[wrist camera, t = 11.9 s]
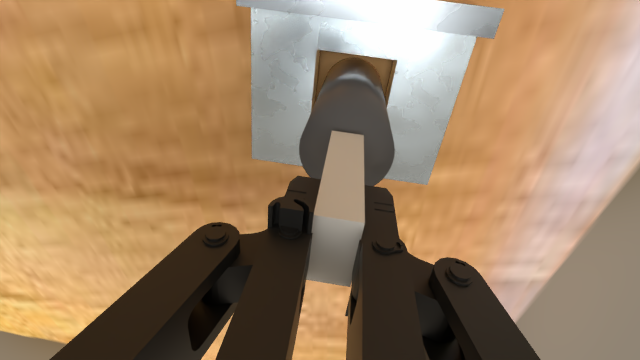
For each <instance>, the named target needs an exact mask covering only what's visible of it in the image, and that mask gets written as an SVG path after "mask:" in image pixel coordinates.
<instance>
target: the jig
mask: <svg viewBox="0 0 640 360" xmlns="http://www.w3.org/2000/svg"><path fill="white" fill-rule="evenodd" d="M236 6H243V7H251V97H252V159H258V160H265V161H272V162H278V163H285V164H292V165H298V166H303V165H302V163H301V160H300V155H299V144H300V139H301V136H302V133H303V131H304V128H305V126H306V124H307V121H308V119H309V117H310V114H311V112H312V110H313V107H314V105H315V97H316V87H317V77H318V67H319V57H320V50H325V51H332V52H340V53H347V54H355V55H362V56H370V57H377V58H385V59H392V60H393V64H392V69H391V73H390V78H389V82H388V87H387V92H386V96H385V103H386V108H387V112H388V117H389V122H390V126H391V131H392V136H393V140H394V147H395V155H394V160H393V163H392V166H391V168H390V170H389V171H388V173H387V174H386V176H385V177H384V178H385V179H392V180H398V181H405V182H412V183H418V184H425V185H427V184H428V181H429V178H430V175H431V172H432V169H433V166H434V163H435V160H436V157H437V154H438V151H439V148H440V145H441V143H442V140H443V137H444V134H445V131H446V128H447V125H448V122H449V119H450V116H451V113H452V110H453V107H454V104H455V101H456V98H457V95H458V92H459V89H460V86H461V83H462V80H463V77H464V74H465V71H466V68H467V65H468V62H469V59H470V56H471V53H472V50H473V47H474V44H475V41H476V38H477V37H484V38H492V39H494V37H495V34H496V31H497V28H498V26H499V23H500V20H501V17H502V15H503V12H504V9H501V8H493V7H485V6H477V5H469V4H460V3H452V2H444V1H436V0H236Z"/></svg>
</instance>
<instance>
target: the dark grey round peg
mask: <svg viewBox="0 0 640 360" xmlns="http://www.w3.org/2000/svg"><path fill="white" fill-rule="evenodd" d="M332 131H339V132H346V133H353V134H360V135H364V185H367V186H374V185H376V184H377V183H379V182H380V181H381V180H382V179H383V178H384V177H385V176H386V174H387V173H388V171H389V170H390V168H391V166H392V163H393V160H394V155H395V147H394V140H393V136H392V131H391V126H390V122H389V117H388V112H387V108H386V103H385V99H384V94H383V89H382V85H381V80H380V76H379V74H378V72H377V70H376V69H375V67H374V66H373V65H372V64H370V63H369V62H367V61H366V60H363V59H360V58H347V59H344V60H341V61H339V62H338V63H336V64H335V65H334V66H333V67H332V68H331V69H330V71H329V72H328V74H327V77H326V79H325V81H324V84H323V86H322V88H321V91H320V93H319V95H318V98H317V100H316V102H315V105H314V107H313V110H312V112H311V114H310V117H309V119H308V121H307V124H306V126H305V128H304V131H303V133H302V136H301V139H300V144H299V155H300V160H301V163H302V165H303V168H304V169H305V171H306V173H307V174H308V175H309V176H310V177H311V178H315V179H321V178H322V174H323V169H324V164H325V160H326V155H327V151H328V146H329V142H330V137H331V132H332Z"/></svg>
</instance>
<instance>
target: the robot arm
mask: <svg viewBox="0 0 640 360" xmlns="http://www.w3.org/2000/svg"><path fill="white" fill-rule="evenodd" d="M306 280H312V281H318V282H324V283H330V284H336V285H342V286H348V287H350V285H351V281H352V288H351V293H350V298H349V302H348V306H347V310H346V315H345V316H348V329H347V351H346V360H540V358H539V357H538V356H537V354H536V353H535V351H534V350H533V348H532V347H531V346H530V344H529V343H528V341H527V340H526V338H525V337H524V336H523V334H522V333H521V331H520V330H519V329H518V327H517V326H516V324H515V323H514V321H513V320H512V319H511V317H510V316H509V314H508V313H507V312H506V310H505V309H504V307H503V306H502V304H501V303H500V302H499V300H498V299H497V297H496V296H495V294H494V293H493V292H492V290H491V289H490V287H489V286H488V285H487V283H486V282H485V280H484V279H483V277H482V276H481V275H480V274H479V273H478V271H477V270H476V269H475V268H474V267H472V266H471V265H469V264H468V263H466V262H464V261H461V260H459V259H456V258H448V257H447V258H442V259H439V260H438V261H437V262H435V265H433V264H430V263H428V262H425V261H423V260H420V259H418V258H416V257H414V256H413V255H411V254H410V253H408V252H407V248H406V246H405V244H404V243H403V242H402V241H401V240H400V239H399V235H398V228H397V221H396V215H395V208H394V202H393V196H392V195H391V194H390V192H389V191H388V190H387V189H386V188H381V187H374V186H367V185H364V135H360V134H353V133H346V132H339V131H332V132H331V137H330V142H329V146H328V151H327V155H326V160H325V164H324V169H323V174H322V178H321V179H315V178H308V177H302V176H297V177H296V178H295V179H293V180H292V181H291V182H290V184H289V186H288V189H287V192H286V194H285V196H284V197H279V198H277V199H275V200H273V201H272V202H271V203H270V204H269V205H268V229H266V230H265V231H262V232H259V233H253V234H240V235H239V231H238V230H237V228H236V227H234V226H232V225H231V224H228V223H222V222H217V223H210V224H207V225H204V226H202V227H200V228H199V229H197V230H196V231H195V232H193V233H192V234H191V235H190V236H189V237H188V238H187V239H186V240H184V241H183V242H182V243H181V244H180V245H179V246H178V247H177V248H175V249H174V250H173V251H172V252H171V253H170V254H169V255H167V256H166V257H165V258H164V259H163V260H162V261H161V262H160V263H158V264H157V265H156V266H155V267H154V268H153V269H152V270H151V271H149V272H148V273H147V274H146V275H145V276H144V277H143V278H141V279H140V280H139V281H138V282H137V283H136V284H135V285H134V286H132V287H131V288H130V289H129V290H128V291H127V292H126V293H124V294H123V295H122V296H121V297H120V298H119V299H118V300H117V301H115V302H114V303H113V304H112V305H111V306H110V307H109V308H108V309H106V310H105V311H104V312H103V313H102V314H101V315H100V316H98V317H97V318H96V319H95V320H94V321H93V322H92V323H91V324H89V325H88V326H87V327H86V328H85V329H84V330H83V331H81V332H80V333H79V334H78V335H77V336H76V337H75V338H74V339H72V340H71V341H70V342H69V343H68V344H67V345H66V346H65V347H63V348H62V349H61V350H60V351H59V352H58V353H57V354H55V355H54V356H53V357H52V358H51V359H50V360H201V358H202V357H203V356H204V354H205V353H206V351H207V350H208V349H209V347H210V346H211V344H212V343H213V341H214V340H215V339H216V337H217V336H218V334H219V333H220V332H221V330H222V329H223V327H224V326H225V324H226V323H227V322H228V320H229V319H230V317H231V316H232V315H233V317H232V319H231V322H230V324H229V327H228V329H227V332H226V334H225V337H224V339H223V342H222V344H221V347H220V349H219V352H218V354H217V357H216V360H292V355H293V350H294V344H295V339H296V334H297V329H298V323H299V318H300V313H301V307H302V302H303V297H304V290H305V282H306ZM233 313H234V314H233Z"/></svg>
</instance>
